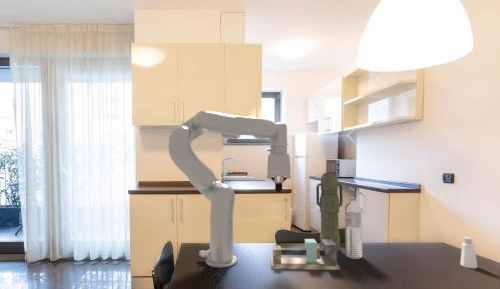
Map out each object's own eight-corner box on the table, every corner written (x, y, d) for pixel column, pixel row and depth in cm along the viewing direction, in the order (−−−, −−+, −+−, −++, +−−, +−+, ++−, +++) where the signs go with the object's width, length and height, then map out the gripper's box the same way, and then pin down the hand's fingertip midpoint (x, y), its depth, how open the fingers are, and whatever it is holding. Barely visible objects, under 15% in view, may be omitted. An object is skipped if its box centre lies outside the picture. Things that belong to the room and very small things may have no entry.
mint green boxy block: (306, 262, 106) (306, 242, 106) (304, 257, 110) (304, 238, 110) (317, 262, 105) (316, 242, 106) (314, 257, 110) (314, 239, 110)
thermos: (314, 246, 130) (313, 172, 131) (338, 245, 131) (337, 172, 132) (320, 252, 121) (319, 174, 122) (346, 252, 122) (345, 174, 123)
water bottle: (364, 260, 112) (363, 199, 113) (346, 258, 114) (345, 199, 115) (360, 254, 119) (359, 197, 120) (344, 253, 120) (343, 196, 121)
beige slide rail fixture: (271, 268, 104) (271, 244, 104) (270, 259, 113) (270, 237, 113) (339, 269, 103) (339, 245, 103) (333, 260, 112) (333, 238, 112)
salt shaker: (458, 262, 111) (457, 234, 111) (475, 264, 108) (474, 236, 109) (461, 267, 106) (461, 238, 106) (479, 269, 103) (478, 240, 104)
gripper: (262, 150, 118) (261, 193, 117) (296, 150, 117) (296, 193, 117) (261, 150, 125) (261, 190, 125) (294, 151, 125) (294, 191, 124)
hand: (278, 191), depth 121 cm, fingers closed
